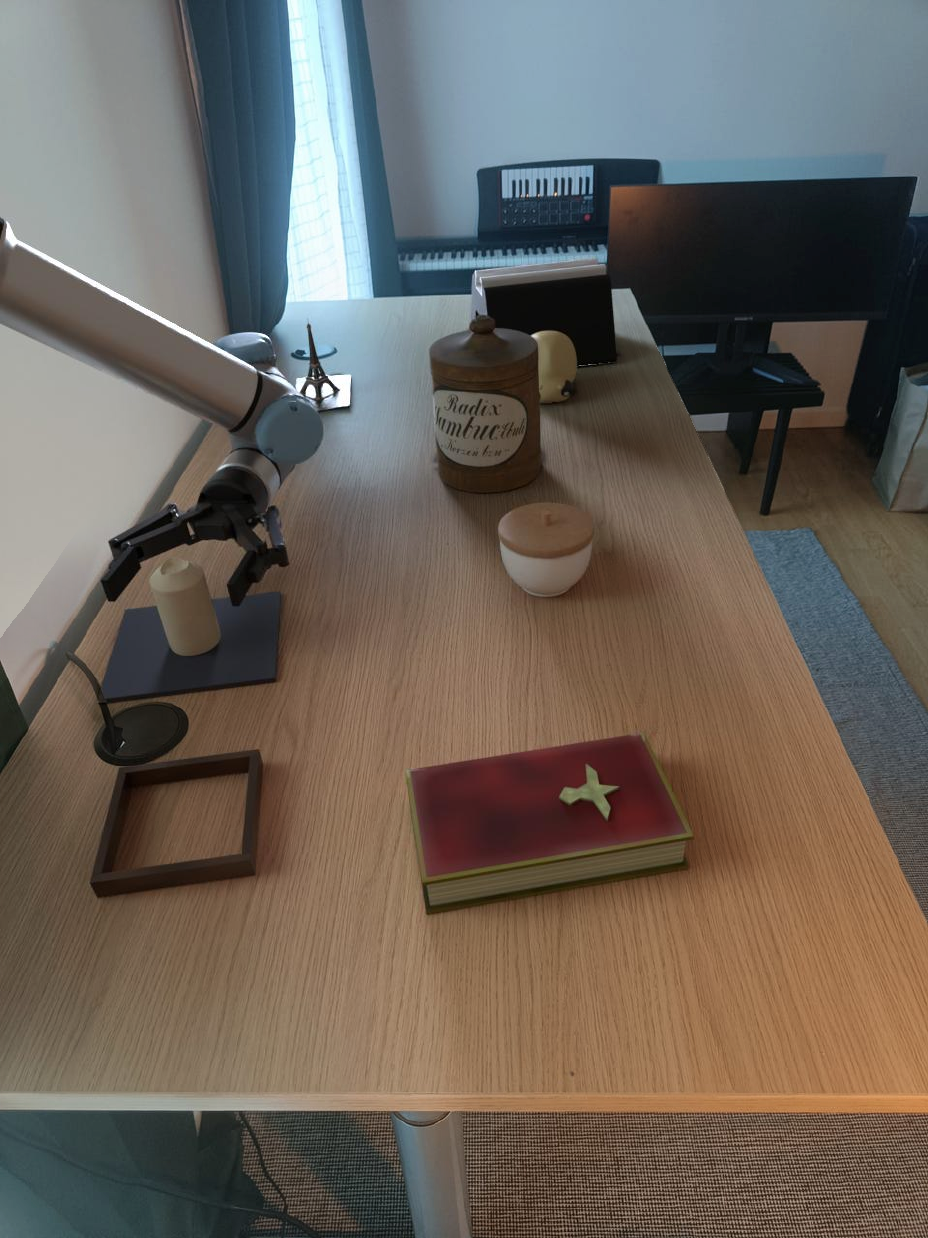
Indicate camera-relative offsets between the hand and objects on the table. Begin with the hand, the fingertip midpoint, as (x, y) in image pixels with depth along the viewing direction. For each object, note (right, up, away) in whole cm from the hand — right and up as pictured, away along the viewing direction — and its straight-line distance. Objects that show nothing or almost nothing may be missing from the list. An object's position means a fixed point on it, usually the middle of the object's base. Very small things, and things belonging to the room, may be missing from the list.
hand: (169, 593), depth 89 cm
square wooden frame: (+6, -21, -14) cm, 26 cm away
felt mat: (+1, -6, +7) cm, 9 cm away
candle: (+1, -5, +7) cm, 8 cm away
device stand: (+45, +48, +75) cm, 99 cm away
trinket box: (+40, +2, +13) cm, 42 cm away
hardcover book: (+37, -21, -16) cm, 45 cm away
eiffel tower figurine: (+5, +36, +63) cm, 73 cm away
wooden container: (+34, +19, +37) cm, 54 cm away
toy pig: (+44, +35, +58) cm, 81 cm away
